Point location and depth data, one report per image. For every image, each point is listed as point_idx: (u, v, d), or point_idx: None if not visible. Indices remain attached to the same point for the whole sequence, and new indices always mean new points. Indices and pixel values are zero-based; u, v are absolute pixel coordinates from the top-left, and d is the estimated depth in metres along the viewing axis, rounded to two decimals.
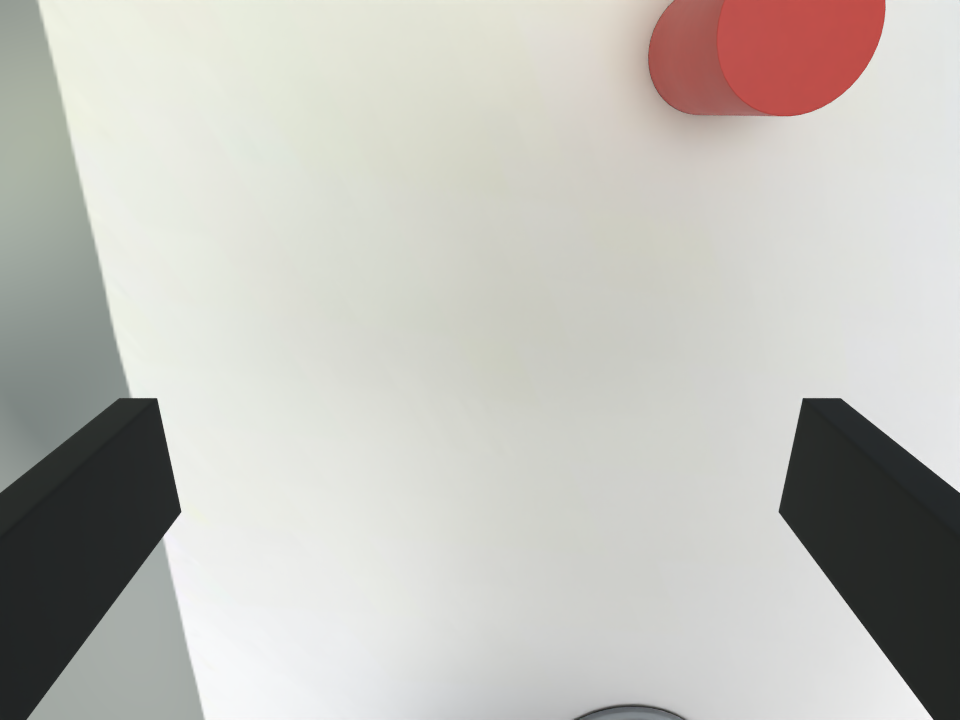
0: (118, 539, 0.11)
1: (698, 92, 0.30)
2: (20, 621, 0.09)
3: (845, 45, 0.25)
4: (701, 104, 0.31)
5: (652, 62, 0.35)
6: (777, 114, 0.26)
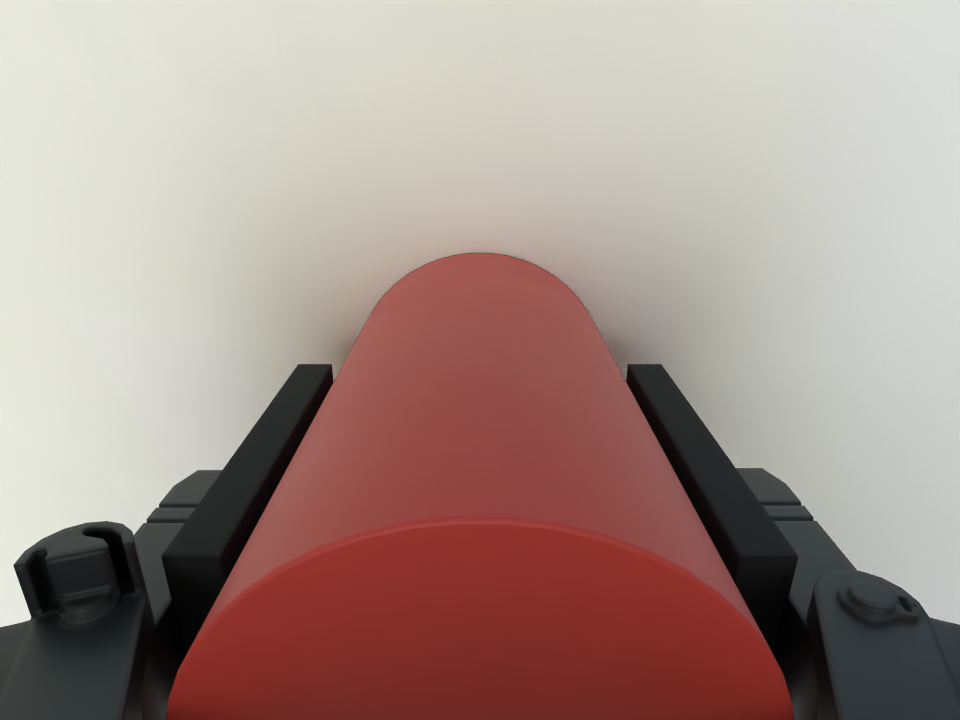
0: None
1: None
2: None
3: None
4: None
5: None
6: None
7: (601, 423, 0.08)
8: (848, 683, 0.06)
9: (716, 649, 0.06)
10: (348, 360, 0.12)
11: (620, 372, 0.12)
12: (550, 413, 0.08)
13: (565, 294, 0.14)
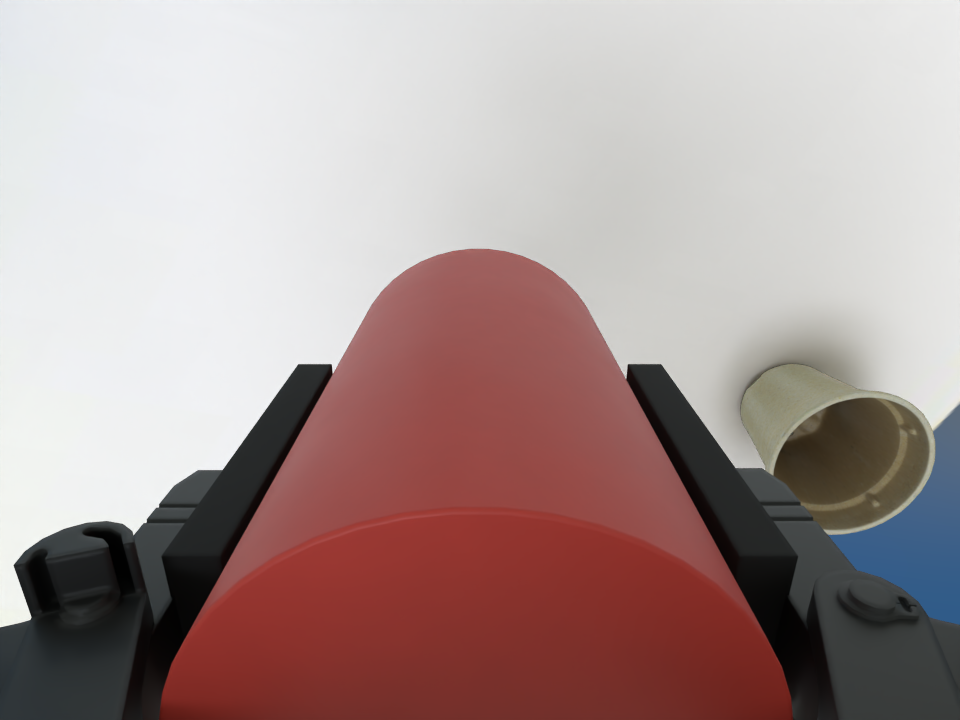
0: None
1: None
2: None
3: None
4: None
5: None
6: None
7: (598, 416, 0.08)
8: (848, 683, 0.06)
9: (713, 642, 0.06)
10: (345, 355, 0.12)
11: (619, 367, 0.12)
12: (547, 405, 0.08)
13: (564, 290, 0.14)
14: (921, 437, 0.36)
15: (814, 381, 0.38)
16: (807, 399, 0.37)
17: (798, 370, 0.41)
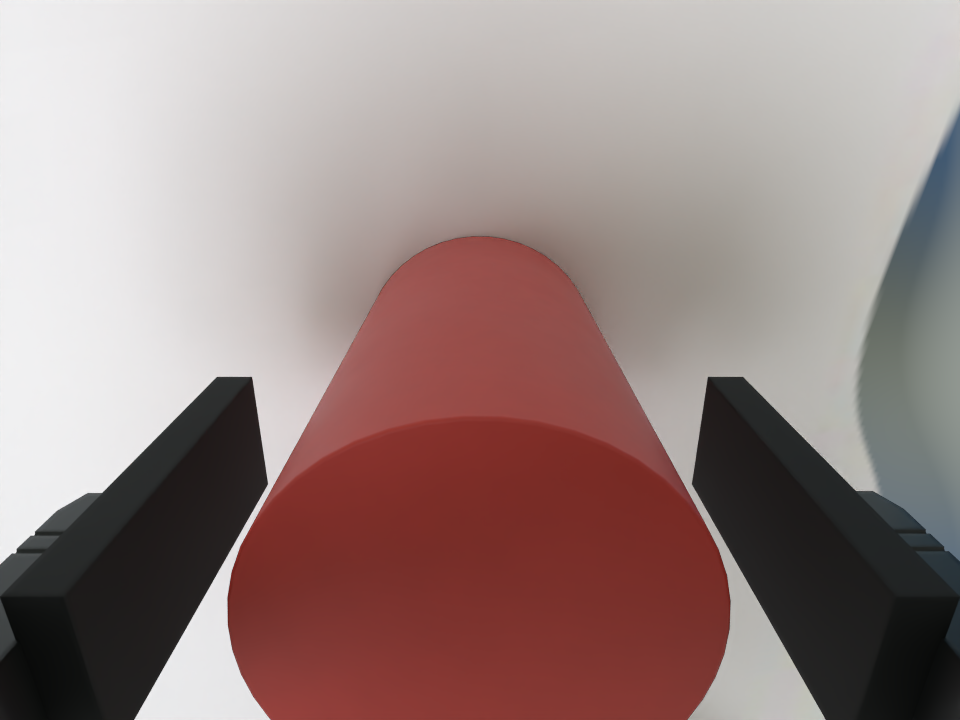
0: (227, 504, 0.12)
1: None
2: (165, 569, 0.10)
3: (620, 677, 0.09)
4: None
5: None
6: None
7: (579, 363, 0.10)
8: None
9: (663, 526, 0.08)
10: (363, 326, 0.14)
11: (603, 337, 0.14)
12: (537, 353, 0.09)
13: (556, 272, 0.16)
14: None
15: None
16: None
17: None
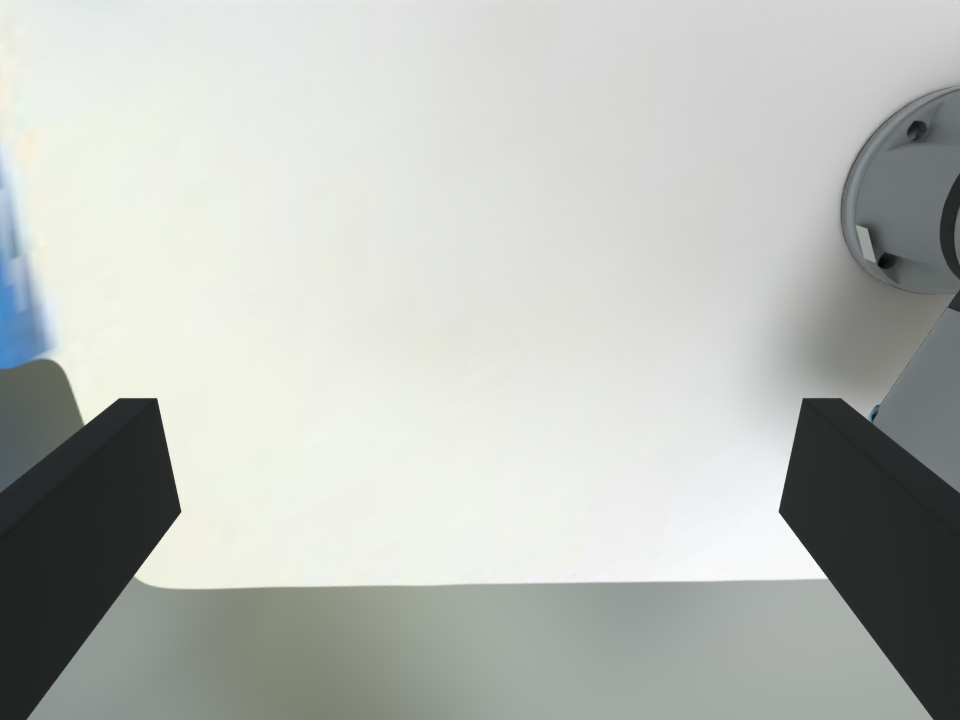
0: (118, 539, 0.11)
1: None
2: (20, 621, 0.09)
3: None
4: None
5: None
6: None
7: None
8: None
9: None
10: None
11: None
12: None
13: None
14: None
15: None
16: None
17: None
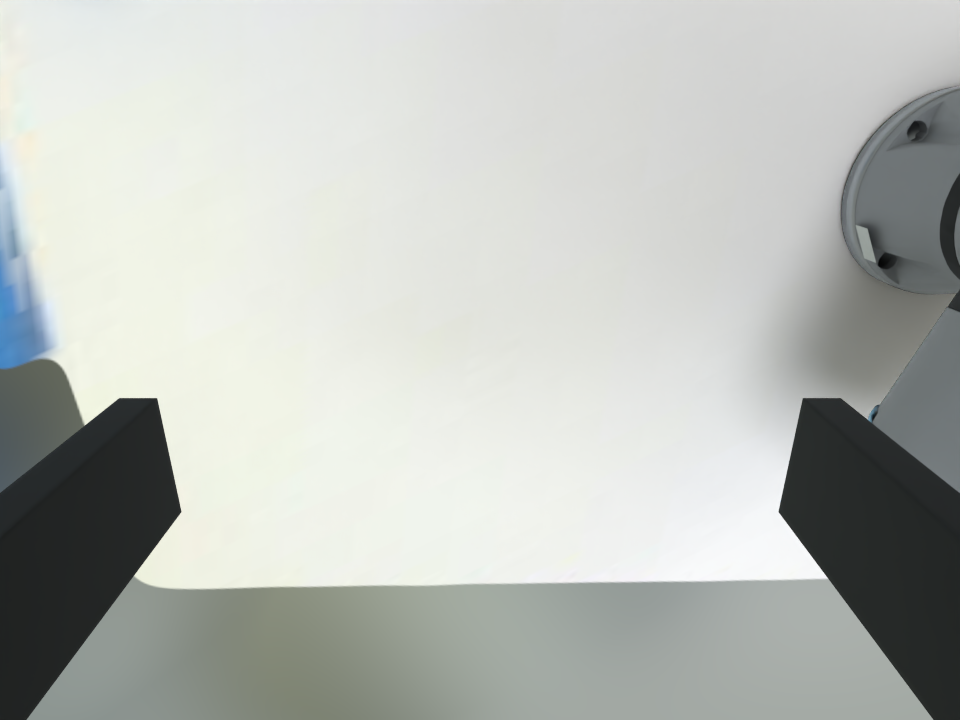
0: (118, 539, 0.11)
1: None
2: (20, 621, 0.09)
3: None
4: None
5: None
6: None
7: None
8: None
9: None
10: None
11: None
12: None
13: None
14: None
15: None
16: None
17: None
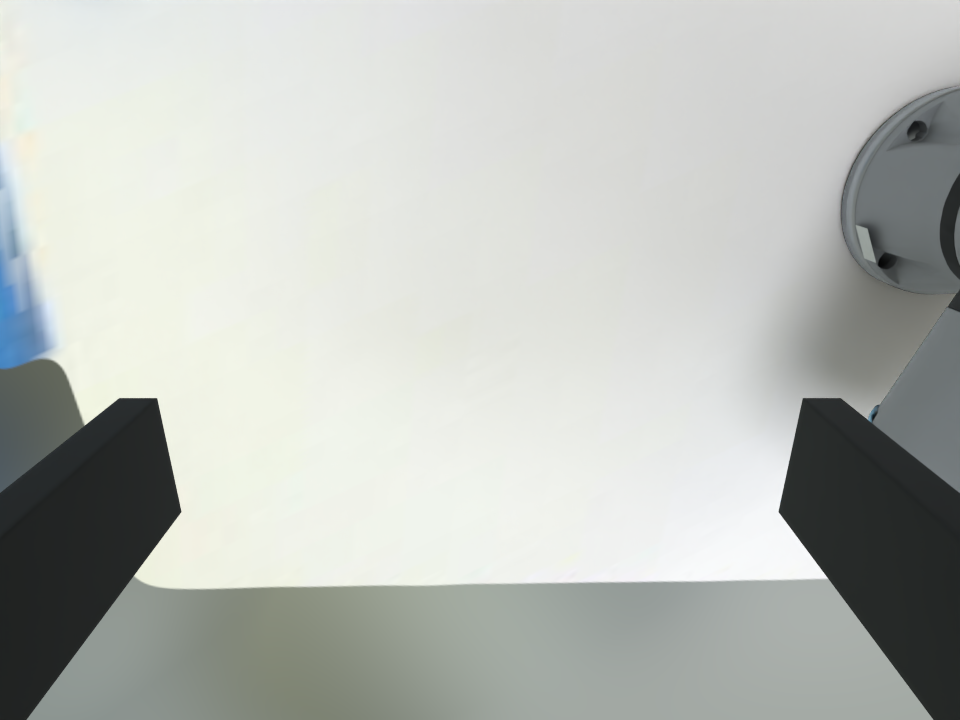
0: (118, 539, 0.11)
1: None
2: (20, 621, 0.09)
3: None
4: None
5: None
6: None
7: None
8: None
9: None
10: None
11: None
12: None
13: None
14: None
15: None
16: None
17: None
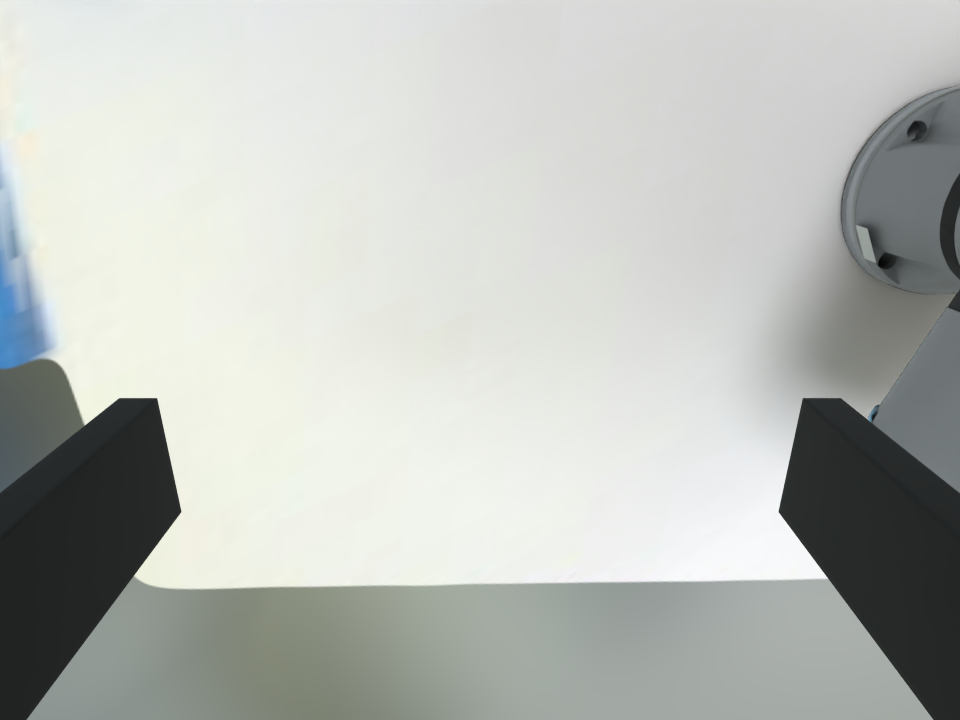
0: (118, 539, 0.11)
1: None
2: (20, 621, 0.09)
3: None
4: None
5: None
6: None
7: None
8: None
9: None
10: None
11: None
12: None
13: None
14: None
15: None
16: None
17: None
